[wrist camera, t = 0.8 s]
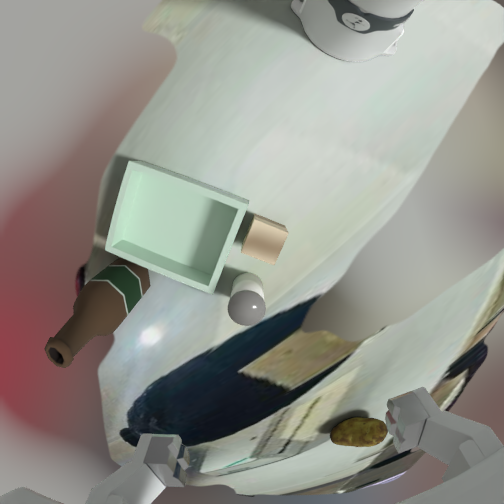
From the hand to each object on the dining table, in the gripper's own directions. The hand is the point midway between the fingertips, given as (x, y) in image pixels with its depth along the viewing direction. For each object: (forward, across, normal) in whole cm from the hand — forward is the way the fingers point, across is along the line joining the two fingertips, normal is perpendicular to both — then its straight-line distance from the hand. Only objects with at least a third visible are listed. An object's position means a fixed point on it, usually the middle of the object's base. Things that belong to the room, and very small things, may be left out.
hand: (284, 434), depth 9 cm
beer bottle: (+37, +23, +3) cm, 44 cm away
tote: (+37, +12, -4) cm, 39 cm away
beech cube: (+37, 0, 0) cm, 37 cm away
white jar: (+37, +4, +8) cm, 38 cm away
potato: (+38, -14, +49) cm, 63 cm away
